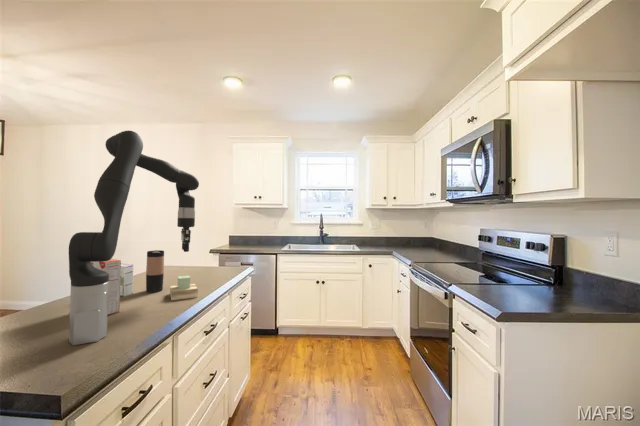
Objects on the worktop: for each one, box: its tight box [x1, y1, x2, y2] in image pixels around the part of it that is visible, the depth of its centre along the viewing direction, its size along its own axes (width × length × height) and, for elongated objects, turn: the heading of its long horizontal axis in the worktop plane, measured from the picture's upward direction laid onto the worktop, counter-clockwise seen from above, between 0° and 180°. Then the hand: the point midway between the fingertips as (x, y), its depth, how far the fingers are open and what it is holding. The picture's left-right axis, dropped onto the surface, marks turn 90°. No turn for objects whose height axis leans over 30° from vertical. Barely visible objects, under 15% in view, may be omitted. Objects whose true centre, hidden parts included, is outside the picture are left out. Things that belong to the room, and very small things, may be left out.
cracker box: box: [90, 258, 122, 316], centre depth 110 cm, size 14×6×21 cm, turn 62°
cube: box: [177, 275, 191, 289], centre depth 133 cm, size 5×5×5 cm
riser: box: [169, 283, 199, 301], centre depth 133 cm, size 11×11×4 cm
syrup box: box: [120, 263, 134, 297], centre depth 132 cm, size 6×6×14 cm
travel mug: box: [145, 249, 165, 294], centre depth 140 cm, size 8×8×20 cm
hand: (185, 250), depth 133 cm, fingers open, 8 cm apart
